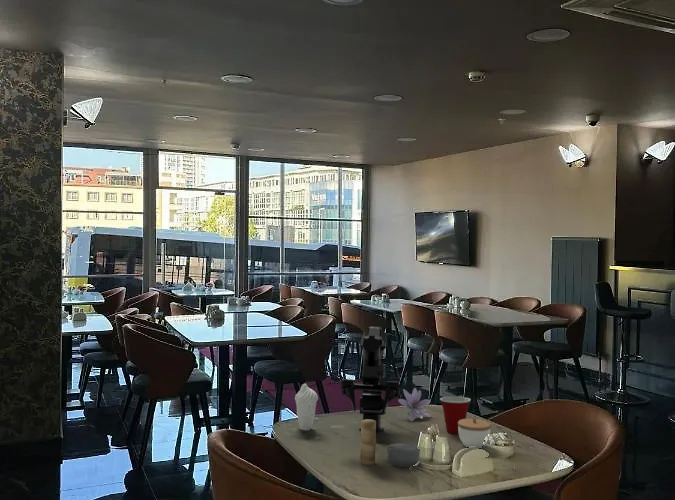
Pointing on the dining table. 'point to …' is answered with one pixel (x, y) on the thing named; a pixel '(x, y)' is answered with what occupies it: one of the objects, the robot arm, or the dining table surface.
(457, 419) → the plastic cup
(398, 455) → the grey round bowl
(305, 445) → the dining table surface
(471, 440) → the lidded jar
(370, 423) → the oak pillar
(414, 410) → the water lily
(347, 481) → the dining table surface
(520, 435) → the dining table surface
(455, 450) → the dining table surface
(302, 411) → the soft serve ice cream cone
